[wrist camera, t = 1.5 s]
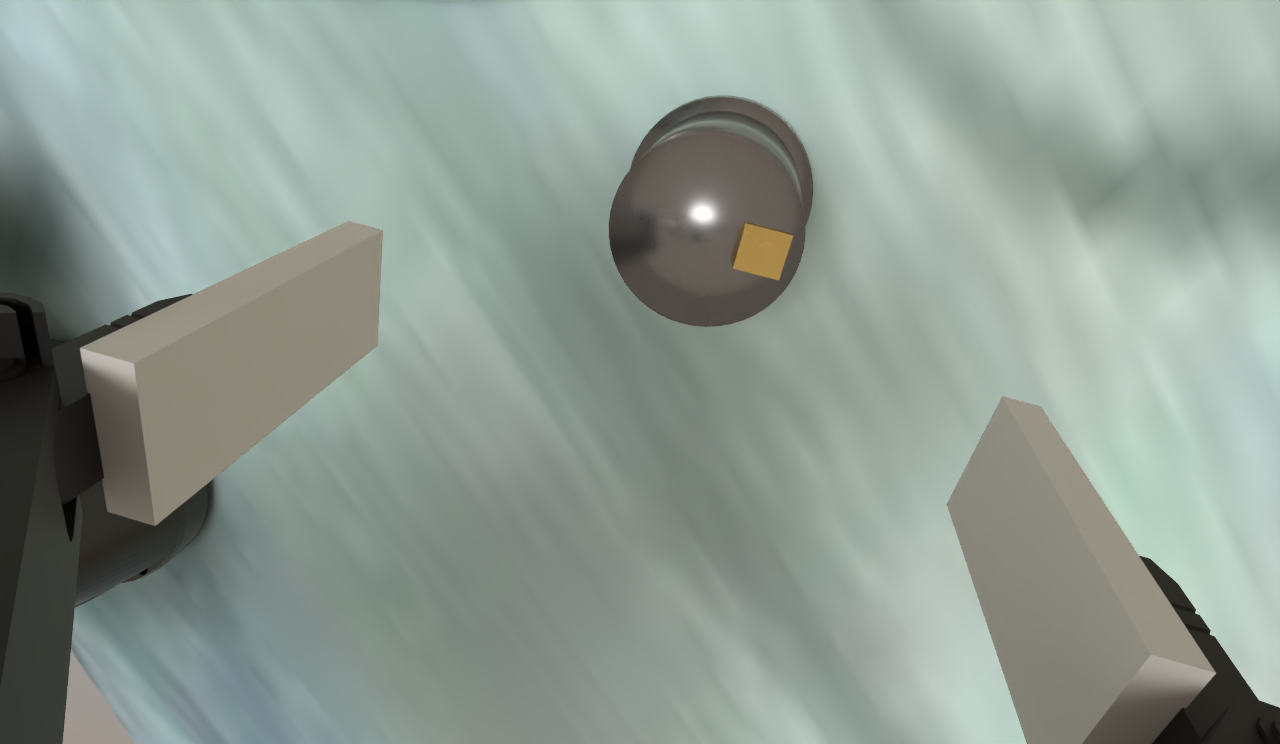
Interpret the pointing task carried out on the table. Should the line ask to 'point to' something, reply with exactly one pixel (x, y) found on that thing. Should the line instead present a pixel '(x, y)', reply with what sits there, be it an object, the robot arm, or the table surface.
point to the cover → (712, 212)
